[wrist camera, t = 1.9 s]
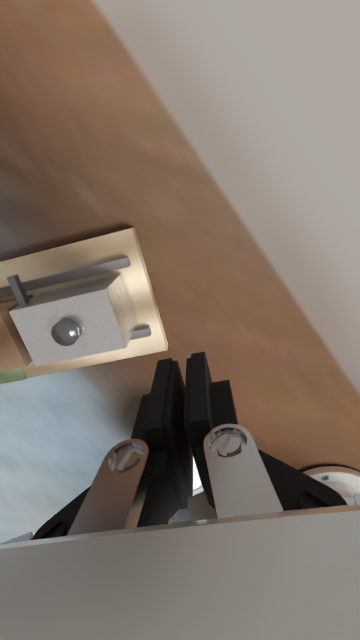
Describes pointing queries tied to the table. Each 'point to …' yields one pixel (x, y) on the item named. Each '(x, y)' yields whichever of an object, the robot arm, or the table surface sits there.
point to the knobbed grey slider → (74, 319)
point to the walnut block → (11, 339)
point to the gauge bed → (82, 266)
